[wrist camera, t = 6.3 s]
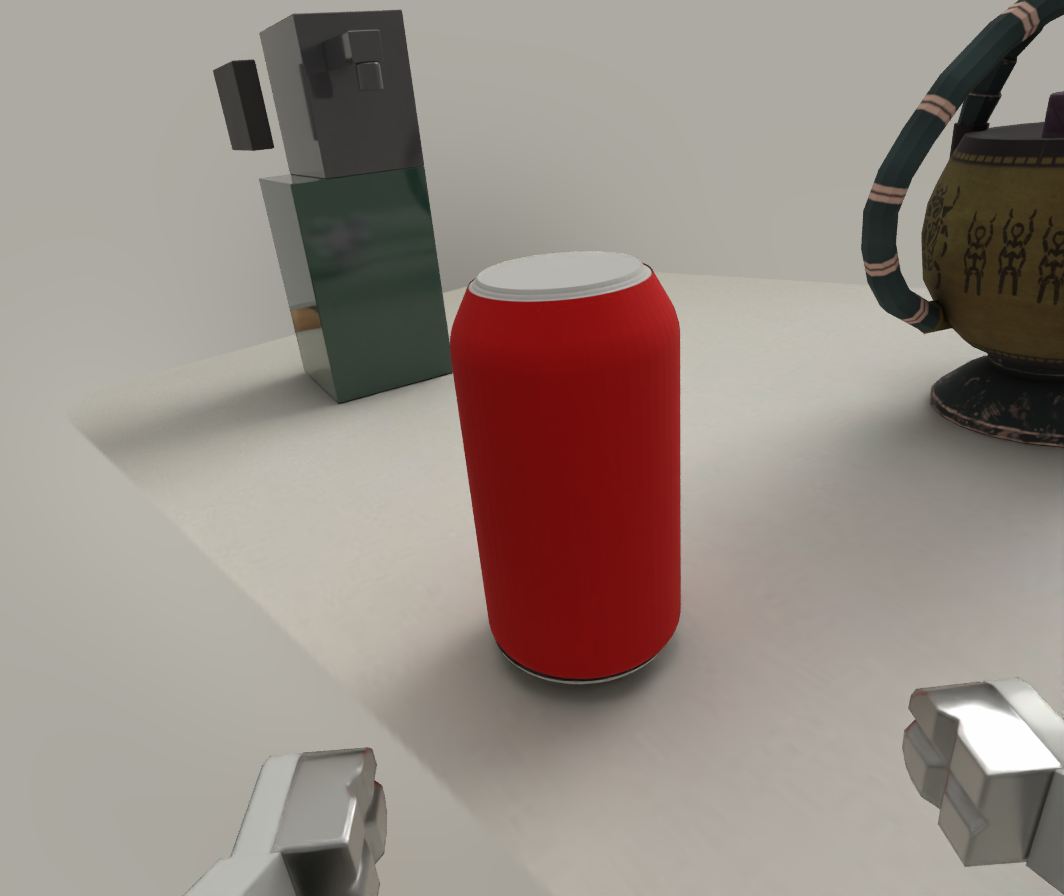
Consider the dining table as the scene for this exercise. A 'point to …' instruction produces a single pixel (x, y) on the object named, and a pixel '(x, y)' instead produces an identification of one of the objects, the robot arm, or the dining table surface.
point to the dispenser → (354, 204)
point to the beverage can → (573, 459)
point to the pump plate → (243, 105)
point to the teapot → (984, 239)
